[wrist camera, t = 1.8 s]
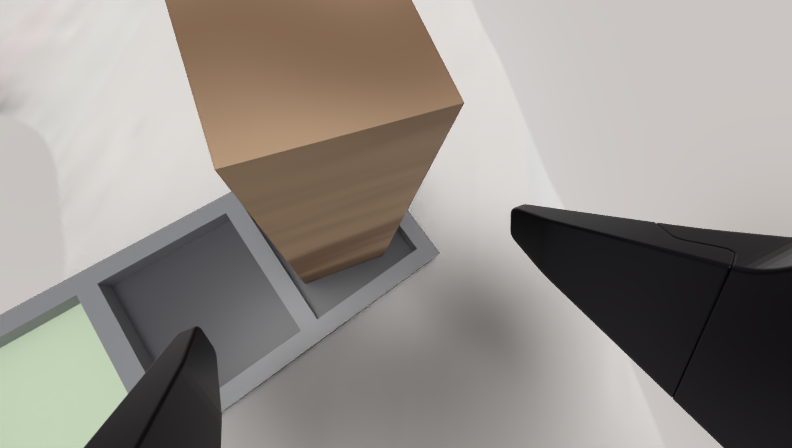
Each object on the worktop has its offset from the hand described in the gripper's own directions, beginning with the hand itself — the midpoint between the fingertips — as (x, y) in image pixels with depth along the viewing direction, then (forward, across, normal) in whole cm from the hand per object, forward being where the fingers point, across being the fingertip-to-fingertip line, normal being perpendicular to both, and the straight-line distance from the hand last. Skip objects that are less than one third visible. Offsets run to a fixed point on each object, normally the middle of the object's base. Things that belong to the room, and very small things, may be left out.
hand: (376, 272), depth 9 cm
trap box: (+10, +8, +6) cm, 14 cm away
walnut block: (+11, 0, +5) cm, 12 cm away
